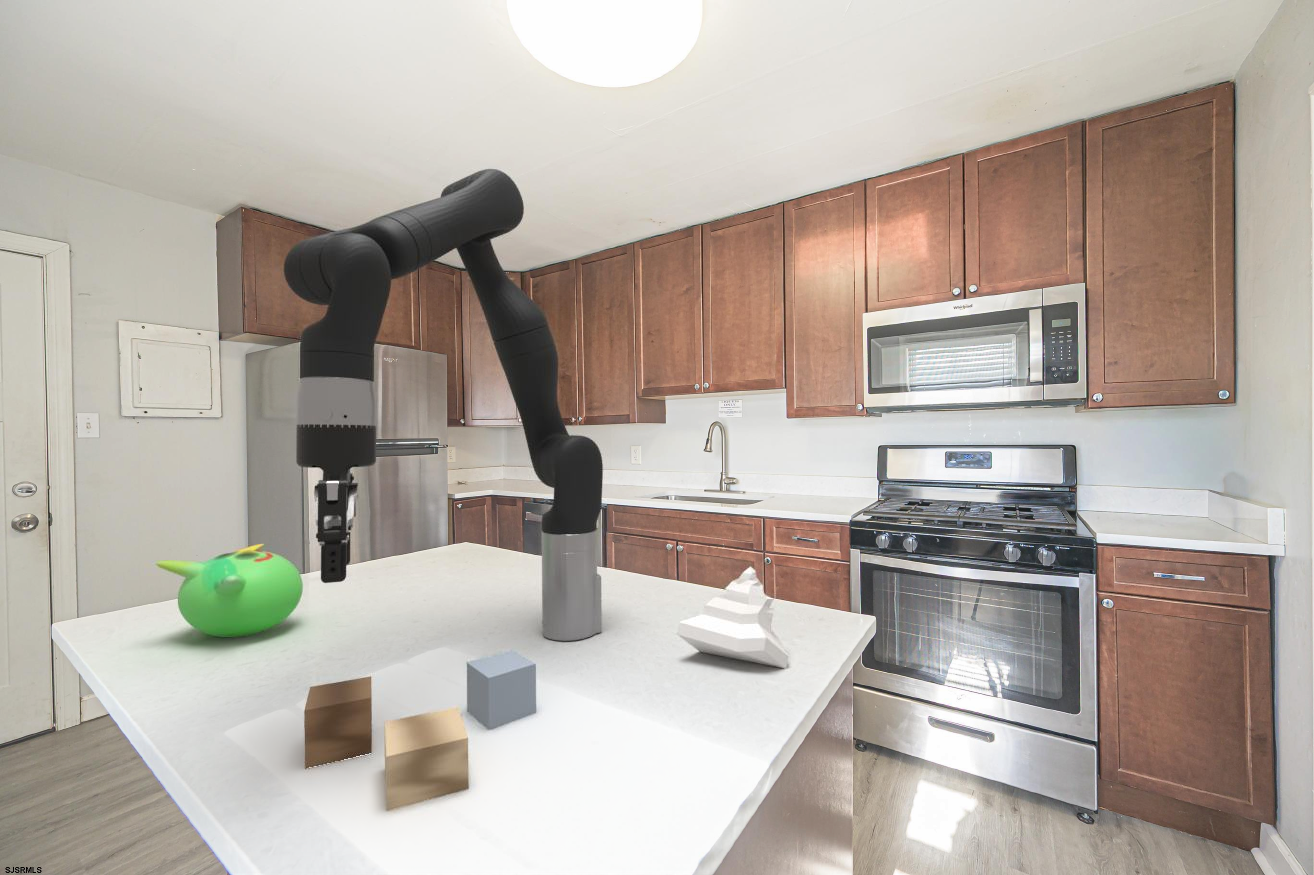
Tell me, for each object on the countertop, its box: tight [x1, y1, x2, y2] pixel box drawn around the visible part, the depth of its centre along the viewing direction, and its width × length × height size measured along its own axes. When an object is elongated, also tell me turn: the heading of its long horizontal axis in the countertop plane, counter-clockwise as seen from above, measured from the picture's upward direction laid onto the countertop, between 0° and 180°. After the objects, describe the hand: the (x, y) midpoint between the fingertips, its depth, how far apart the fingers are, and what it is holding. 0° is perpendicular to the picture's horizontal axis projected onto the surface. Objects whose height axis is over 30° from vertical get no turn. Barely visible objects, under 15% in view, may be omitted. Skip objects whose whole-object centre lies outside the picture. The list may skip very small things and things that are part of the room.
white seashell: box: [676, 565, 789, 669], centre depth 86 cm, size 12×15×14 cm
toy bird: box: [155, 543, 304, 638], centre depth 97 cm, size 18×17×15 cm
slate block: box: [466, 649, 537, 731], centre depth 69 cm, size 6×6×6 cm
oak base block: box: [384, 706, 470, 811], centre depth 56 cm, size 7×7×5 cm
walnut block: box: [303, 675, 373, 770], centre depth 61 cm, size 6×6×6 cm
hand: (336, 572), depth 62 cm, fingers open, 8 cm apart
